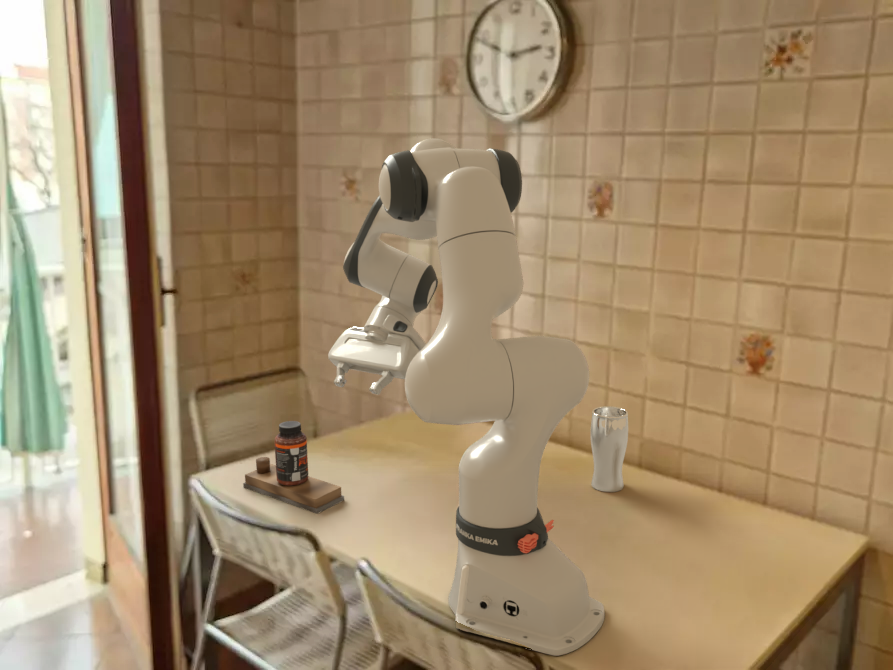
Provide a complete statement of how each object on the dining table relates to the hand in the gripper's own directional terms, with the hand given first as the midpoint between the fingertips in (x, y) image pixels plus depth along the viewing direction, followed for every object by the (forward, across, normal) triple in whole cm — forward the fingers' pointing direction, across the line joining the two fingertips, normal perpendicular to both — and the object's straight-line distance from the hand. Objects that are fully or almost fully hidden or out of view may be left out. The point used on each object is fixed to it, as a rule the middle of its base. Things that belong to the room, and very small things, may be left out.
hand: (355, 389), depth 162 cm
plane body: (+22, -4, +3) cm, 23 cm away
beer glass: (-3, +43, +29) cm, 52 cm away
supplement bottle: (+21, -4, +1) cm, 21 cm away
